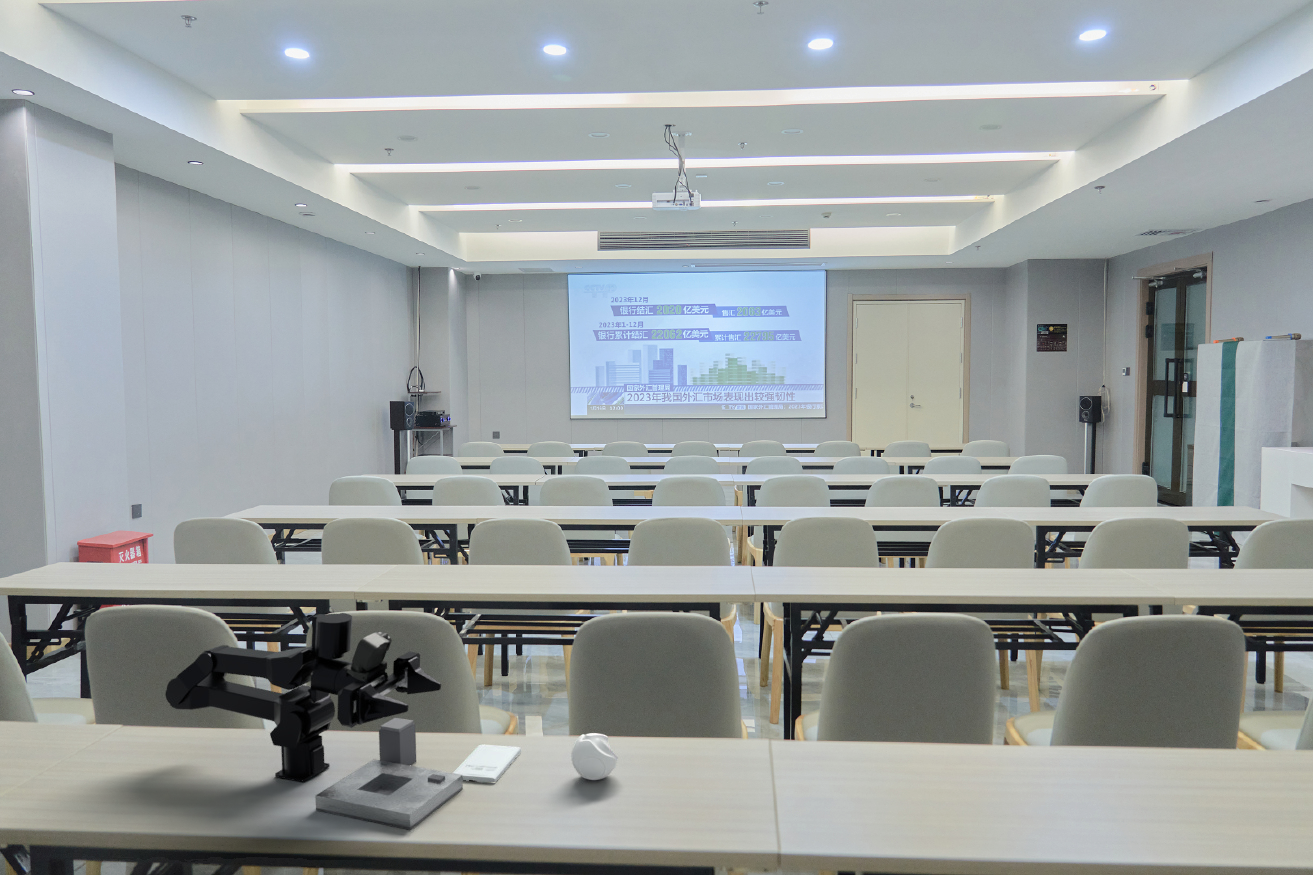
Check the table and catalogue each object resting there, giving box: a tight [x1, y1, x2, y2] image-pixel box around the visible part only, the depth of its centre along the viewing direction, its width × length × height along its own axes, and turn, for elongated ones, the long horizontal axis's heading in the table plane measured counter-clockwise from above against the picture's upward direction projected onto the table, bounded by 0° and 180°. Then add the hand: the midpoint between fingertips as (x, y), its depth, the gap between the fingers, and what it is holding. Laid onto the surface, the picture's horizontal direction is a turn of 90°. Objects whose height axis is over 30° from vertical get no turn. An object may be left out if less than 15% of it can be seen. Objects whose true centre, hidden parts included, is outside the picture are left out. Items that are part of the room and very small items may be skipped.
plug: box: [378, 717, 417, 766], centre depth 152 cm, size 4×4×8 cm
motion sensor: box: [571, 732, 619, 781], centre depth 146 cm, size 8×8×8 cm
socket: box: [314, 759, 464, 831], centre depth 139 cm, size 18×14×3 cm
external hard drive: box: [452, 743, 522, 783], centre depth 151 cm, size 2×8×12 cm
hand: (424, 697), depth 140 cm, fingers open, 9 cm apart
